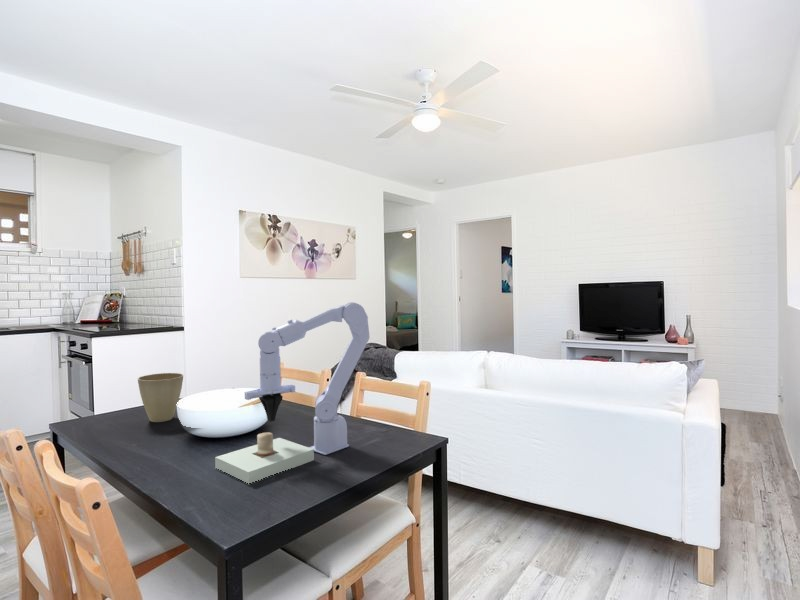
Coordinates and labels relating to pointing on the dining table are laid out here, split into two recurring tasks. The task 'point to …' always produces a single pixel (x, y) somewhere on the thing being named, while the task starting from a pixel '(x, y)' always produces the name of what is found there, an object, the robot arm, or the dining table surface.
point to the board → (264, 460)
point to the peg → (265, 444)
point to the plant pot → (160, 395)
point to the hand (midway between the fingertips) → (271, 420)
